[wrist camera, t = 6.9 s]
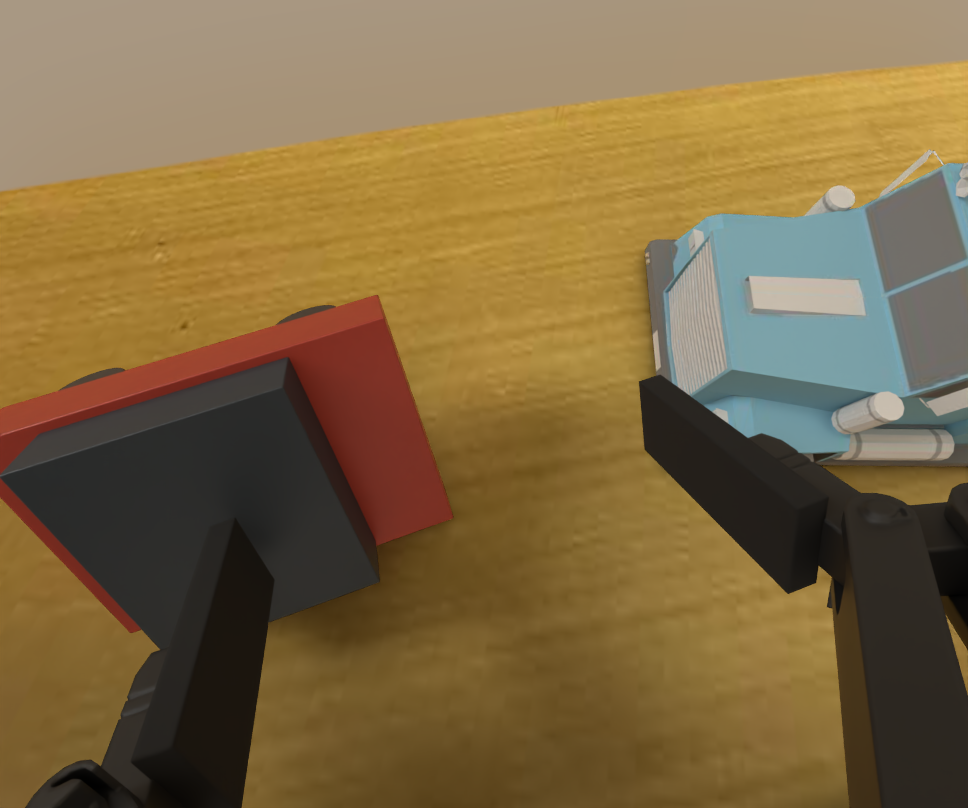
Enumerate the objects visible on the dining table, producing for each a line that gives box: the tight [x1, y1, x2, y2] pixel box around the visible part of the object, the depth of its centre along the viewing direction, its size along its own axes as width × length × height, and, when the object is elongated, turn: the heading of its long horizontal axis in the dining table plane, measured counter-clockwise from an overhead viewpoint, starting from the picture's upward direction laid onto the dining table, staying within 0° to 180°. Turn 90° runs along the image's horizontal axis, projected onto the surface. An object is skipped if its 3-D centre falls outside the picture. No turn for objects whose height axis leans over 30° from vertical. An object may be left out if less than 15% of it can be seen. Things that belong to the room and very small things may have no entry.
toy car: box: [0, 295, 453, 650], centre depth 19 cm, size 13×6×9 cm
